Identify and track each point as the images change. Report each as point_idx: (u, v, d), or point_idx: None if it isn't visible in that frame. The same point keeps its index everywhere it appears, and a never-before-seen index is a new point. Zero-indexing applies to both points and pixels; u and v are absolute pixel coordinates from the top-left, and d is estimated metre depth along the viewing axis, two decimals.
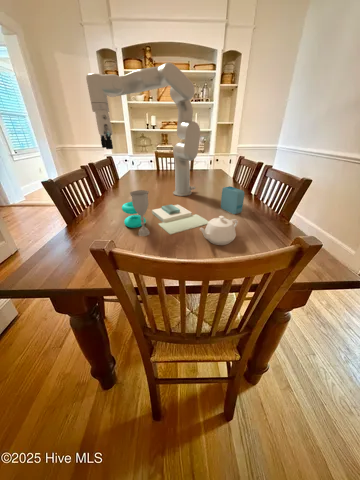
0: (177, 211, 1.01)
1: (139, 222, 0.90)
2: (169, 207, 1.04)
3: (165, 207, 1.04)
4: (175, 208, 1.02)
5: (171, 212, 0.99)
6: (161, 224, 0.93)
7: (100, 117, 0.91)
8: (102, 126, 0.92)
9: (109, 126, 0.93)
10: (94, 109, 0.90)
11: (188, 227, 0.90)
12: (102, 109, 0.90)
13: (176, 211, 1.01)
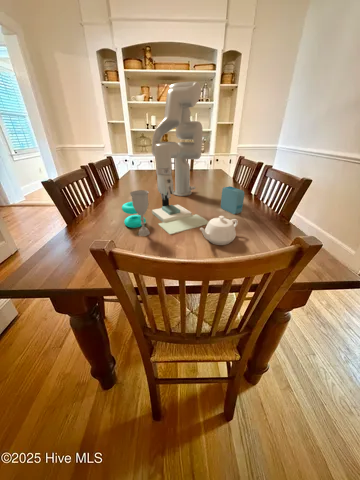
0: (177, 211, 1.00)
1: (139, 222, 0.90)
2: (169, 207, 1.04)
3: (165, 207, 1.03)
4: (175, 208, 1.02)
5: (171, 212, 0.99)
6: (161, 224, 0.93)
7: (165, 181, 0.96)
8: (166, 188, 0.98)
9: (172, 188, 0.99)
10: (159, 174, 0.96)
11: (188, 227, 0.90)
12: (167, 174, 0.96)
13: (176, 211, 1.00)
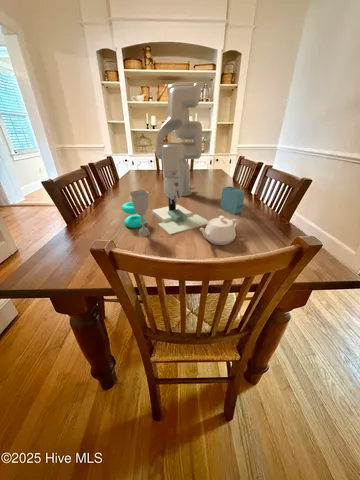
0: (184, 217, 0.94)
1: (139, 222, 0.90)
2: (176, 212, 0.97)
3: (171, 212, 0.97)
4: (182, 214, 0.96)
5: (178, 218, 0.93)
6: (161, 224, 0.93)
7: (172, 184, 0.91)
8: (173, 192, 0.92)
9: (179, 191, 0.93)
10: (167, 176, 0.90)
11: (188, 227, 0.90)
12: (175, 176, 0.90)
13: (183, 217, 0.94)
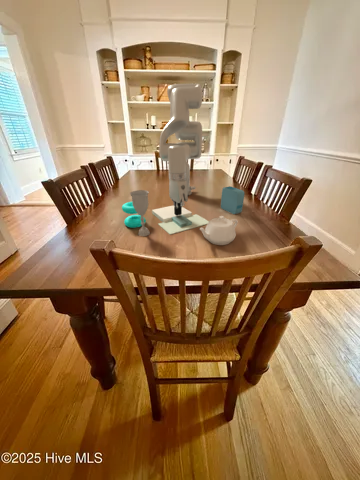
0: (189, 224, 0.92)
1: (139, 222, 0.90)
2: (180, 218, 0.95)
3: (176, 219, 0.95)
4: (187, 220, 0.93)
5: (182, 225, 0.90)
6: (161, 224, 0.93)
7: (179, 187, 0.86)
8: (180, 195, 0.88)
9: (186, 194, 0.89)
10: (173, 179, 0.86)
11: (188, 227, 0.90)
12: (181, 179, 0.86)
13: (188, 224, 0.91)
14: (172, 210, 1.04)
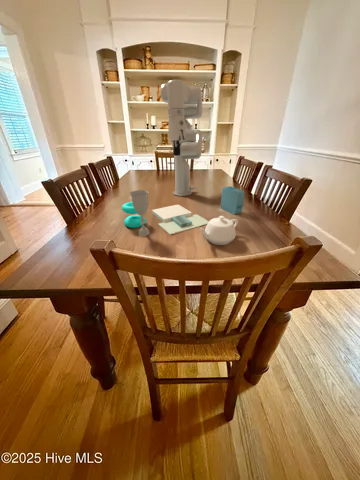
0: (189, 224, 0.92)
1: (139, 222, 0.90)
2: (180, 218, 0.95)
3: (176, 219, 0.95)
4: (187, 220, 0.93)
5: (182, 225, 0.90)
6: (161, 224, 0.93)
7: (177, 122, 0.92)
8: (178, 131, 0.93)
9: (184, 131, 0.95)
10: (172, 114, 0.92)
11: (188, 227, 0.90)
12: (180, 114, 0.92)
13: (188, 224, 0.91)
14: (172, 210, 1.04)
